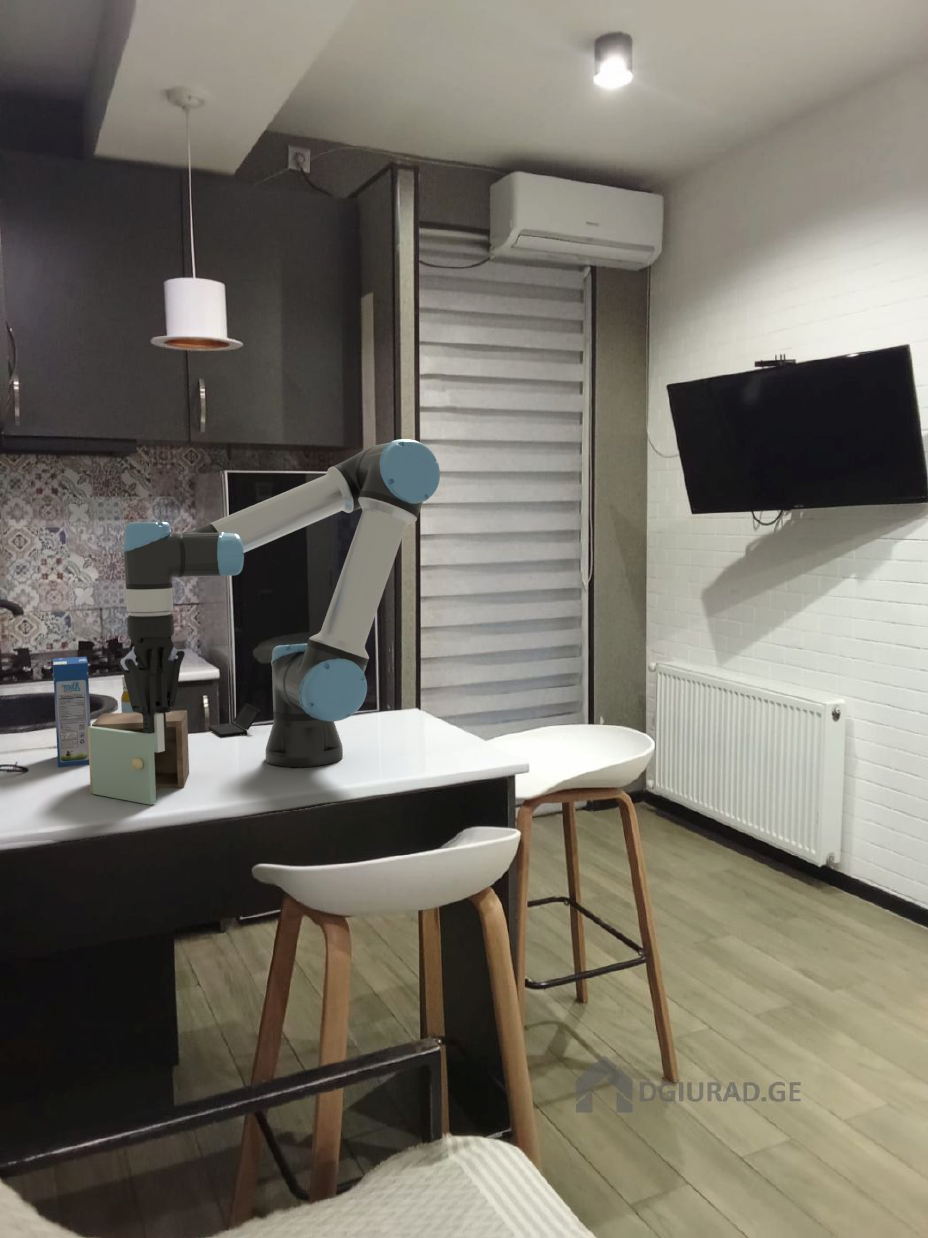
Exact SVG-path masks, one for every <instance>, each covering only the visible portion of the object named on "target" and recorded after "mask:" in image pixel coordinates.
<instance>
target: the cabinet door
mask: <svg viewBox="0 0 928 1238" xmlns="http://www.w3.org/2000/svg"><path fill="white" fill-rule="evenodd" d="M88 744H89V764H88V765H89V782H90V783H89V785H90V794H93V795H97V796H102V797H108V798H113V799H118V800H124V801H129V802H133V803H139V804H144V805H148V806H150V805H153V804H156V803H157V790H156V789H157V788H156V786H155V761H154V736H153V734H146V733H139V732H132V731H125V730H117V729H110V728H103V727H94V726H92V725H91V726H89V727H88Z"/></svg>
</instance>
